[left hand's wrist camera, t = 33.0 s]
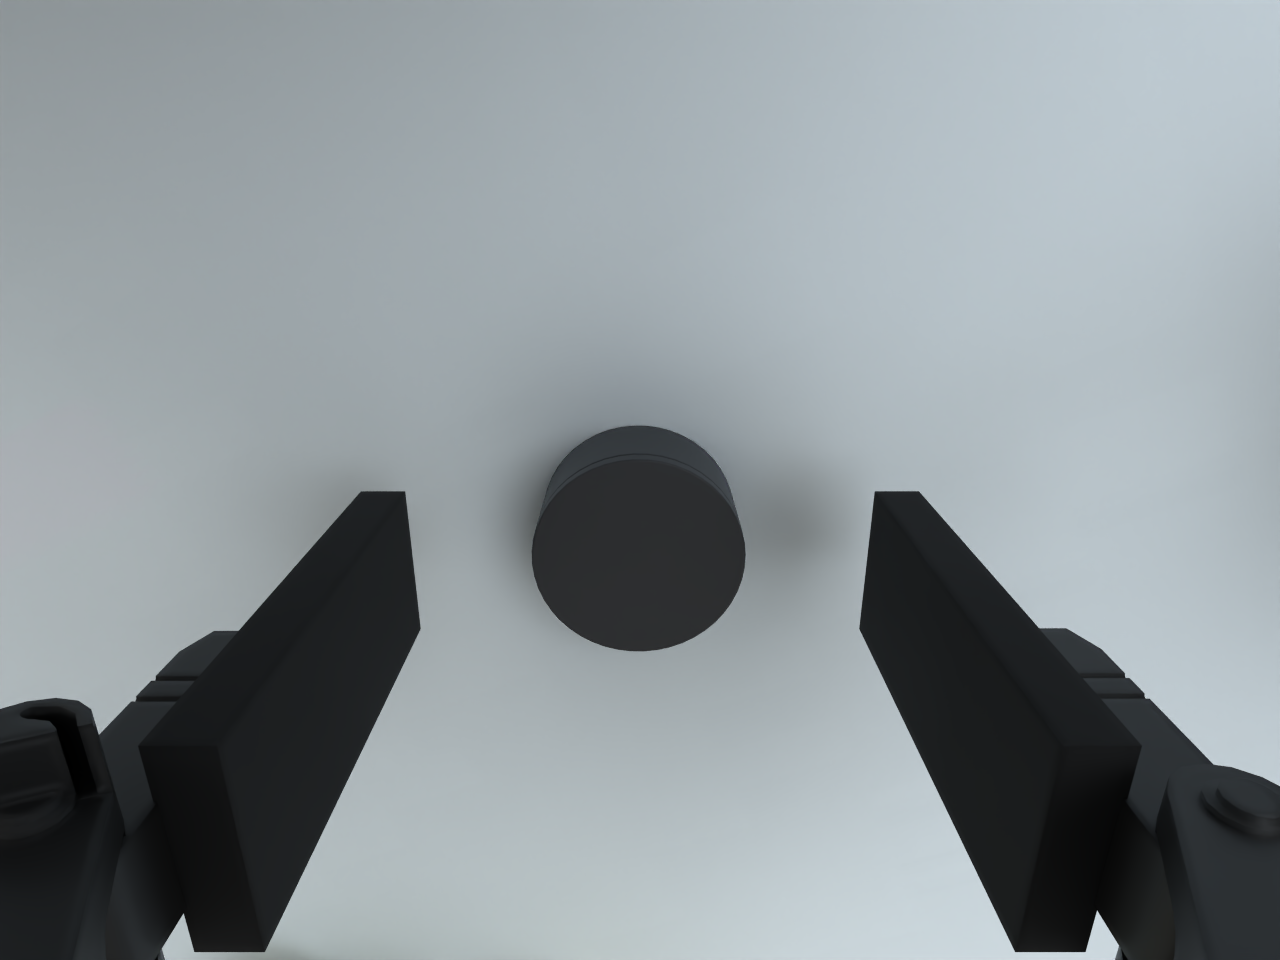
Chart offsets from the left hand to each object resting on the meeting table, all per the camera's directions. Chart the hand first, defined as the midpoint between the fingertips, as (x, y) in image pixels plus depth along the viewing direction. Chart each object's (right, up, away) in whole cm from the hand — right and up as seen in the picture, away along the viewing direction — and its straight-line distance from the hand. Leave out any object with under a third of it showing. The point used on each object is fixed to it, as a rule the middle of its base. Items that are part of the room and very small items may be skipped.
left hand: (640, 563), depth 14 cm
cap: (0, 0, +1) cm, 1 cm away
